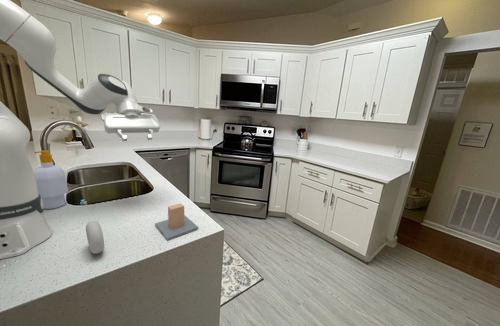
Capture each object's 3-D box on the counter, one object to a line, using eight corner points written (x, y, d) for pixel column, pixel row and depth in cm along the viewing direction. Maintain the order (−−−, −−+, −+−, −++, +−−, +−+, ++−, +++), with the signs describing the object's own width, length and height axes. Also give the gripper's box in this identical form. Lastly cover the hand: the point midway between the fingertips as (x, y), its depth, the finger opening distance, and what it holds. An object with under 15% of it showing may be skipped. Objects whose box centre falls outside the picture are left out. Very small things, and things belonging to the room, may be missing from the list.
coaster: (167, 240, 72) (167, 238, 72) (155, 225, 81) (154, 223, 80) (198, 229, 80) (198, 227, 80) (184, 216, 89) (184, 214, 88)
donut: (87, 245, 67) (83, 217, 65) (100, 241, 70) (96, 214, 67) (92, 262, 60) (88, 231, 58) (106, 257, 63) (103, 227, 60)
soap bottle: (33, 206, 88) (21, 150, 82) (63, 198, 97) (55, 147, 91) (43, 213, 84) (32, 154, 78) (74, 204, 92) (66, 151, 87)
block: (171, 229, 77) (171, 209, 75) (168, 225, 80) (167, 206, 78) (184, 224, 81) (184, 206, 79) (180, 221, 83) (180, 203, 81)
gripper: (100, 106, 79) (108, 135, 75) (155, 109, 93) (165, 134, 88) (99, 117, 83) (106, 145, 79) (152, 119, 97) (161, 143, 93)
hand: (138, 139), depth 84 cm, fingers open, 8 cm apart
